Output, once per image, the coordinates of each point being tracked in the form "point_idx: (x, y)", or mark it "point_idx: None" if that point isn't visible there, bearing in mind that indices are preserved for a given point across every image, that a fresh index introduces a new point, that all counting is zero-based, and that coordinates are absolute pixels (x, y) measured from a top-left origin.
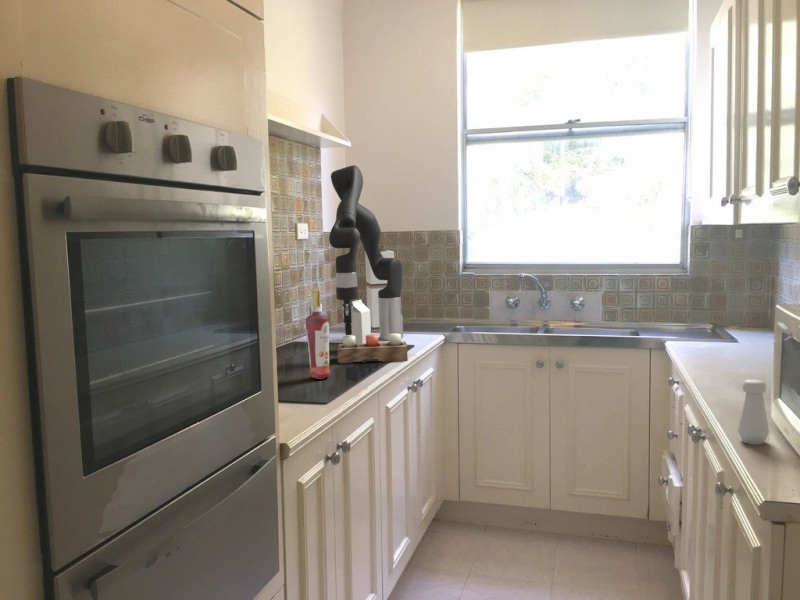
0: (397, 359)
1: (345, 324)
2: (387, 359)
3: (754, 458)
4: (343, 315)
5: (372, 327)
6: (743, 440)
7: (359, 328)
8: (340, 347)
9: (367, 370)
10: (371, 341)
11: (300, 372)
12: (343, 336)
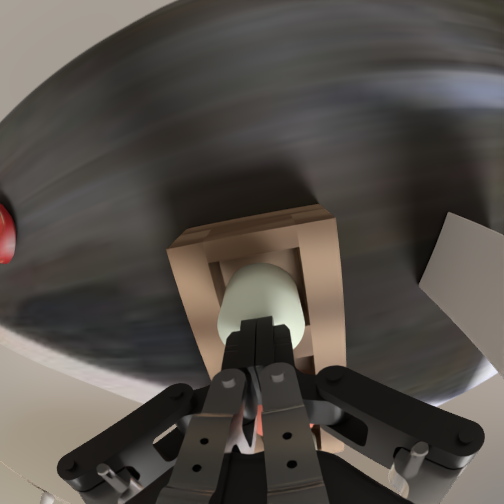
0: None
1: (229, 374)
2: None
3: (30, 481)
4: (188, 437)
5: None
6: (46, 492)
7: (479, 328)
8: (221, 254)
9: (102, 347)
10: None
11: (46, 132)
12: (257, 293)
